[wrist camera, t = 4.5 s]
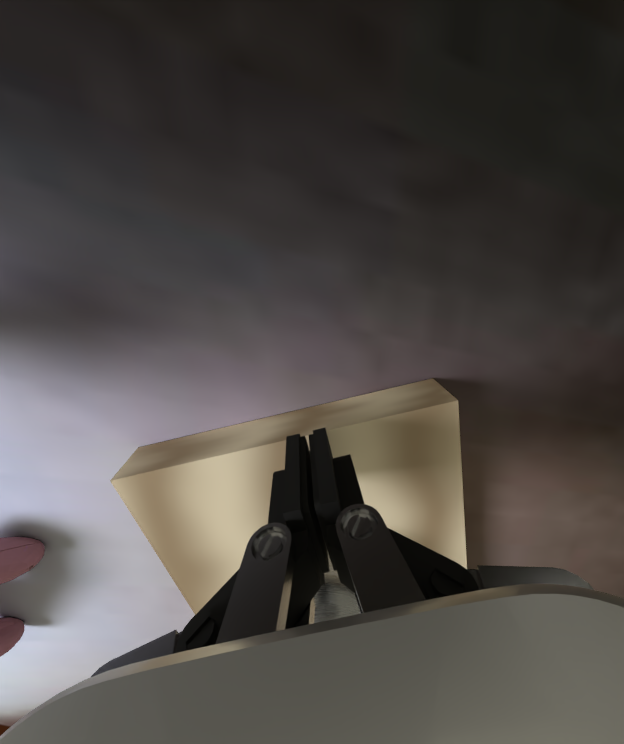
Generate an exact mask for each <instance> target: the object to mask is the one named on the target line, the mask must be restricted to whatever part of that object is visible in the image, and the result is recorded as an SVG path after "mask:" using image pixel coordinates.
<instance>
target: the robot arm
mask: <svg viewBox="0 0 624 744" xmlns="http://www.w3.org/2000/svg"><path fill="white" fill-rule="evenodd" d="M309 448H310V451H309ZM327 550H328V552H327ZM328 553H329V557H330V560H331V563H332V566H333V569H334V571H336V570H337V573H338V576H339V579H340V583H342V584H343V585H344V586H346V587H347V588H349V589H350V590H351V591H353V592H354V595H355V598H356V601H357V604H358V607H359V611H360V614H356V615H351V616H347V617H342V618H337V619H332V620H327V621H323V622H318V623H314V618H315V598H314V596H315V595H316V593H317V592H318V590H319V589H320V587H321V585H325V576H324V573H327V572H329V561H328ZM0 744H624V598H621V597H618V596H615V595H611V594H608V593H604V592H600V591H596V590H594V589H593V588H592V587H591V586H590V585H589V584H588V583H587V582H586V581H584V580H583V579H582V578H580V577H579V576H577V575H575V574H573V573H571V572H569V571H566V570H563V569H558V568H550V567H515V566H480V565H477V569H466V568H464V567H463V566H461V565H460V564H458V563H457V562H455V561H453V560H451V559H449V558H447V557H445V556H443V555H441V554H439V553H437V552H435V551H433V550H431V549H429V548H427V547H425V546H423V545H421V544H419V543H417V542H415V541H413V540H411V539H409V538H407V537H405V536H403V535H401V534H399V533H397V532H395V531H393V530H391V529H389V528H387V526H386V524H385V522H384V520H383V519H382V517H381V515H380V514H379V512H378V511H377V510H376V509H375V508H373V507H372V506H369V505H366V504H364V500H363V497H362V493H361V490H360V486H359V483H358V479H357V476H356V472H355V469H354V465H353V462H352V458H351V455H350V454H349V455H345V456H341V457H336V458H333V455H332V451H331V447H330V443H329V440H328V436H327V432H326V428H321V429H316V430H313V434H310V435H309V447H308V444H307V440H306V437H305V436H302V437H301V436H300V434H295V435H291V436H287V437H286V454H285V469H284V470H280V471H275V472H274V473H273V479H272V488H271V498H270V507H269V516H268V524H266V525H264V526H262V527H261V528H259V529H258V530H257V531H256V532H255V533H254V534H253V535H252V536H251V538H250V540H249V542H248V544H247V547H246V550H245V553H244V556H243V559H242V562H241V565H240V569H239V570H238V571H237V572H236V573H235V574H234V575H233V576H232V577H231V578H230V579H229V580H228V581H227V582H226V583H225V584H224V585H223V586H222V587H221V589H220V590H219V591H218V592H217V593H216V594H215V595H214V596H213V597H212V598H211V599H210V600H209V601H208V602H207V603H206V604H205V605H204V606H203V607H202V609H201V610H200V611H199V612H198V613H197V614H196V615H195V616H194V617H193V618H192V619H191V620H190V621H189V623H188V624H187V625H186V627H185V628H184V630H183V631H182V632H180V633H178V632H177V630H174V631H172V632H170V633H168V634H166V635H164V636H162V637H160V638H158V639H155V640H153V641H151V642H149V643H147V644H145V645H143V646H141V647H139V648H136V649H134V650H132V651H130V652H128V653H126V654H124V655H122V656H120V657H118V658H115V659H113V660H111V661H109V662H108V663H106V664H105V665H103V666H102V667H100V668H99V669H98V670H97V671H96V672H95V673H94V674H93V675H92V676H91V677H90V678H88V679H86V680H84V681H82V682H80V683H78V684H76V685H74V686H72V687H70V688H68V689H66V690H64V691H62V692H60V693H58V694H57V695H55V696H54V697H52V698H50V699H49V700H47V701H46V702H44V703H43V704H41V705H39V706H38V707H36V708H35V709H33V710H32V711H31V712H29V713H28V714H27V715H25V716H24V717H23V718H21V719H20V720H19V721H17V722H16V723H15V724H14V725H13V726H11V727H10V728H9V729H8V730H6V732H4V733H3V734H2V736H0Z"/></svg>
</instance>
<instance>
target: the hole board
mask: <svg viewBox="0 0 624 744" xmlns="http://www.w3.org/2000/svg"><path fill="white" fill-rule="evenodd" d="M321 428H326V432H327V436H328V440H329V443H330V447H331V451H332V455H333V458H336V457H341V456H345V455H349V454H350V455H351V458H352V462H353V465H354V469H355V472H356V476H357V479H358V483H359V486H360V490H361V493H362V497H363V500H364V504H366V505H369V506H372V507H373V508H375V509H376V510H377V511H378V512H379V514H380V515H381V517H382V519H383V520H384V522H385V524H386V526H387V528H389V529H391V530H393V531H395V532H397V533H399V534H401V535H403V536H405V537H407V538H409V539H411V540H413V541H415V542H417V543H419V544H421V545H423V546H425V547H427V548H429V549H431V550H433V551H435V552H437V553H439V554H441V555H443V556H445V557H447V558H449V559H451V560H453V561H455V562H457V563H458V564H460V565H461V566H463V567H464V568H466V569H467V558H466V539H465V520H464V501H463V483H462V464H461V445H460V426H459V408H458V400H457V399H456V398H455V397H454V396H452V395H451V394H450V393H449V392H448V391H447V390H446V389H444V388H443V387H442V386H441V385H440V384H439V383H438V382H436V381H435V380H434V379H433V378H432V379H428V380H424V381H419V382H415V383H411V384H407V385H402V386H398V387H394V388H390V389H385V390H381V391H377V392H373V393H368V394H364V395H360V396H356V397H351V398H347V399H343V400H339V401H334V402H330V403H326V404H322V405H317V406H313V407H309V408H304V409H300V410H296V411H292V412H287V413H283V414H279V415H275V416H270V417H266V418H262V419H258V420H253V421H249V422H245V423H241V424H236V425H232V426H228V427H224V428H219V429H215V430H211V431H207V432H202V433H198V434H194V435H189V436H185V437H181V438H177V439H172V440H168V441H164V442H160V443H155V444H151V445H147V446H143V447H138V449H137V450H136V451H135V452H134V453H133V454H132V456H131V457H130V458H129V459H128V460H127V462H126V463H125V464H124V465H123V466H122V467H121V469H120V470H119V471H118V472H117V473H116V475H115V476H114V477H113V478H112V479H111V480H110V481H111V483H112V484H113V486H114V488H115V489H116V491H117V492H118V494H119V495H120V497H121V499H122V500H123V502H124V503H125V505H126V506H127V508H128V510H129V511H130V513H131V514H132V516H133V517H134V519H135V521H136V522H137V524H138V525H139V527H140V528H141V530H142V532H143V533H144V535H145V536H146V538H147V539H148V541H149V543H150V544H151V546H152V547H153V549H154V550H155V552H156V554H157V555H158V557H159V558H160V560H161V561H162V563H163V565H164V566H165V568H166V569H167V571H168V572H169V574H170V576H171V577H172V579H173V580H174V582H175V583H176V585H177V587H178V588H179V590H180V591H181V593H182V594H183V596H184V598H185V599H186V601H187V602H188V604H189V606H190V607H191V609H192V610H193V612H194V613H195V615H196V614H197V613H198V612H199V611H200V610H201V609H202V607H203V606H204V605H205V604H206V603H207V602H208V601H209V600H210V599H211V598H212V597H213V596H214V595H215V594H216V593H217V592H218V591H219V590H220V589H221V587H222V586H223V585H224V584H225V583H226V582H227V581H228V580H229V579H230V578H231V577H232V576H233V575H234V574H235V573H236V572H237V571H238V570H239V569H240V565H241V562H242V559H243V556H244V553H245V550H246V547H247V544H248V542H249V540H250V538H251V536H252V535H253V534H254V533H255V532H256V531H257V530H258V529H259V528H261V527H262V526H264V525H266V524H268V516H269V507H270V498H271V488H272V479H273V473H274V472H275V471H280V470H284V469H285V454H286V437H287V436H291V435H295V434H300V436H301V437H302V436H305V437H306V440H307V444H308V447H309V435H310V434H313V430H316V429H321ZM309 451H310V448H309ZM327 552H328V550H327Z"/></svg>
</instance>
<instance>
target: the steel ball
mask: <svg viewBox="0 0 624 744" xmlns="http://www.w3.org/2000/svg"><path fill="white" fill-rule="evenodd" d="M328 561H329V572H327V573H324V576H325V585H321V587H320V589H319V590H318V592H317V593H316V595H315V596H314V598H315V618H314V623H318V622H323V621H327V620H332V619H337V618H342V617H347V616H351V615H356V614H360V611H359V607H358V604H357V601H356V598H355V595H354V592H353V591H351V590H350V589H349V588H347V587H346V586H344V585H343V584H342V583H340V579H339V576H338V573H337V570H336V571H334V569H333V566H332V563H331V560H330V557H329V553H328Z"/></svg>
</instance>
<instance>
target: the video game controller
mask: <svg viewBox="0 0 624 744" xmlns="http://www.w3.org/2000/svg"><path fill="white" fill-rule="evenodd" d="M44 552H45V548H44V544H43V543H42V542H41V541H39V540H36V539H32V538H25V537H5V538H0V584H2V583H5V582H8V581H11V580H13V579H15V578H17V577H18V576H20V575H22V574H24V573H26V572H27V571H29V570H31V569H32V568H33V567H34V566H35V565H36V564H37V563H38V562H39V561H40V560H41V559H42V557H43V556H44ZM23 632H24V623H23V621H22V620H20V619H17V618H12V617H5V618H0V656H2V655H3V654H5V653H6V652H8V651H9V650H10V649H11V648H12V647H13V646H14V645H15V644H16V643H17V642H18V641H19V640H20V638H21V637H22V635H23Z"/></svg>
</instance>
